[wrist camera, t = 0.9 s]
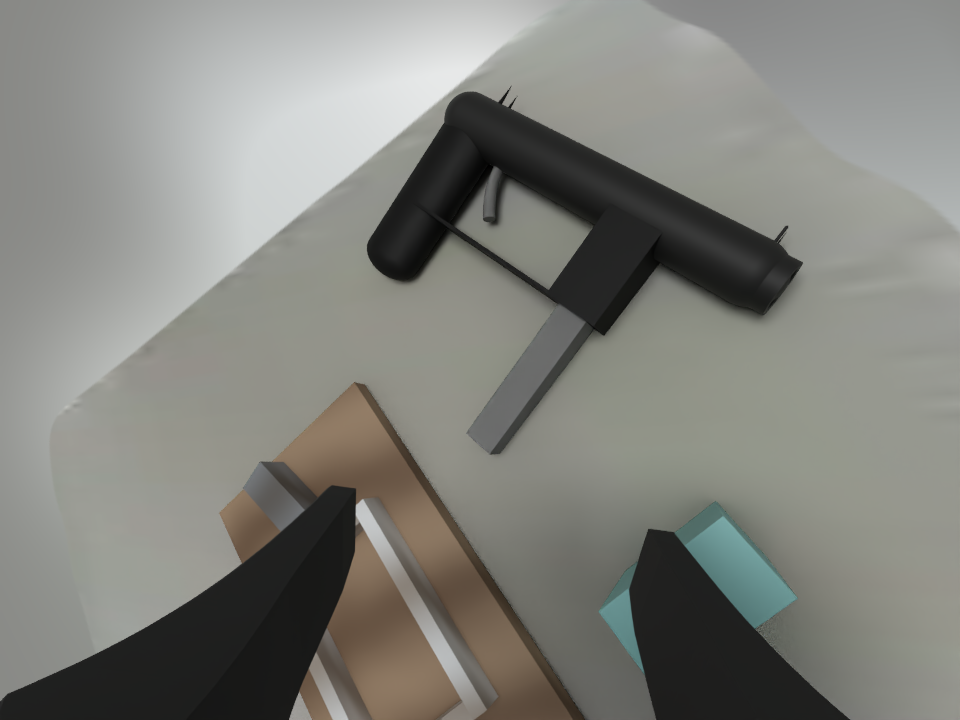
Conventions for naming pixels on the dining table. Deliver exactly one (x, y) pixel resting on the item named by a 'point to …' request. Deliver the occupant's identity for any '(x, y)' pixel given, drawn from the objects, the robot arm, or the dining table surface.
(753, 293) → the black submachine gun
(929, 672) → the dining table surface
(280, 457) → the board
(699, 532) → the block
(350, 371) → the dining table surface
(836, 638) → the dining table surface
